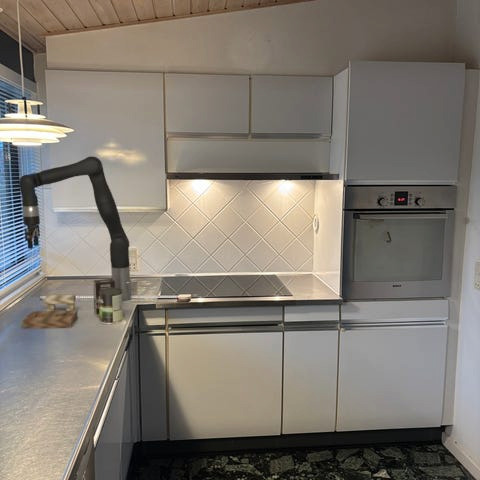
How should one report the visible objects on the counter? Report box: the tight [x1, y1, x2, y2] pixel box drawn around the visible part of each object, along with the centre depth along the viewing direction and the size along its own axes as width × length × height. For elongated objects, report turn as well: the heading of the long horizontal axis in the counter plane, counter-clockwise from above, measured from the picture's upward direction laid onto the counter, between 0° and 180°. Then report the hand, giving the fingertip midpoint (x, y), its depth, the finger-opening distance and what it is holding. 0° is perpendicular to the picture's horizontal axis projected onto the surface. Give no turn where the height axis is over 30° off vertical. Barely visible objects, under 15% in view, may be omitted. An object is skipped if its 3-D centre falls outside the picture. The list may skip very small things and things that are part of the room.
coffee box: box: [92, 278, 115, 317], centre depth 227 cm, size 9×6×16 cm
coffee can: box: [99, 288, 124, 325], centre depth 217 cm, size 10×10×14 cm
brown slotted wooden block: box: [22, 310, 79, 330], centre depth 213 cm, size 20×12×4 cm, turn 95°
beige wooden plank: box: [44, 294, 77, 311], centre depth 228 cm, size 13×4×8 cm, turn 95°
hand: (33, 247), depth 242 cm, fingers open, 8 cm apart
